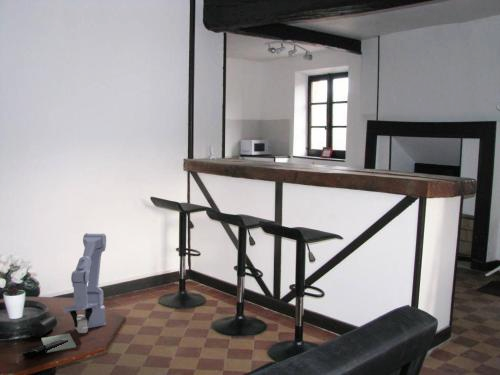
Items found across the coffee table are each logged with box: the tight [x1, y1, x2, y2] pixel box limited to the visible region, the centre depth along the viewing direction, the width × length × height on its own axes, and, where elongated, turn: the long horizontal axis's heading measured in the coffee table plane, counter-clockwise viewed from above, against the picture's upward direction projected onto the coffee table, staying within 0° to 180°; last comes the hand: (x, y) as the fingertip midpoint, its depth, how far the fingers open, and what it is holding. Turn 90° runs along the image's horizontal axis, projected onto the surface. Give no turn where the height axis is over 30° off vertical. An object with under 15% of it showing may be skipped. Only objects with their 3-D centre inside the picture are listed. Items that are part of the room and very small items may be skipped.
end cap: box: [31, 315, 58, 338], centre depth 233 cm, size 10×7×7 cm
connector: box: [74, 314, 89, 334], centre depth 226 cm, size 4×13×5 cm, turn 30°
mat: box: [41, 333, 77, 353], centre depth 222 cm, size 12×16×1 cm
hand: (81, 325), depth 227 cm, fingers closed on connector, 4 cm apart
